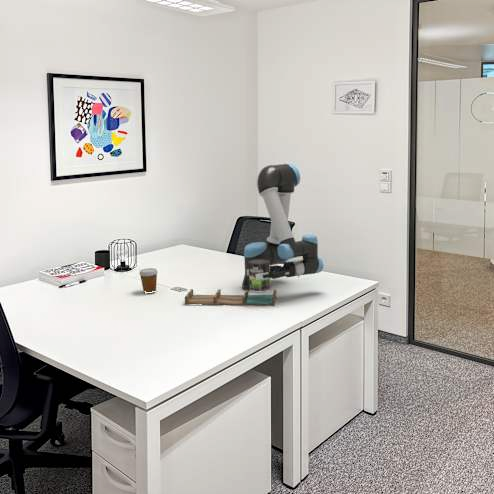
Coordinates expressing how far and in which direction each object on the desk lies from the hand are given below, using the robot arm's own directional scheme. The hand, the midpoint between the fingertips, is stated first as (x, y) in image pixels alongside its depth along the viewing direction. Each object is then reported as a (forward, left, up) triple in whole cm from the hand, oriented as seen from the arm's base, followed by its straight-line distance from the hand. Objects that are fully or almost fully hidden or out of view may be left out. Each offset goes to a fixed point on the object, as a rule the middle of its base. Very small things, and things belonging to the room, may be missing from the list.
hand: (251, 274), depth 284 cm
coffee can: (-2, +4, -8) cm, 9 cm away
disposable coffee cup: (-17, -56, -14) cm, 60 cm away
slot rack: (-2, -11, -14) cm, 18 cm away
